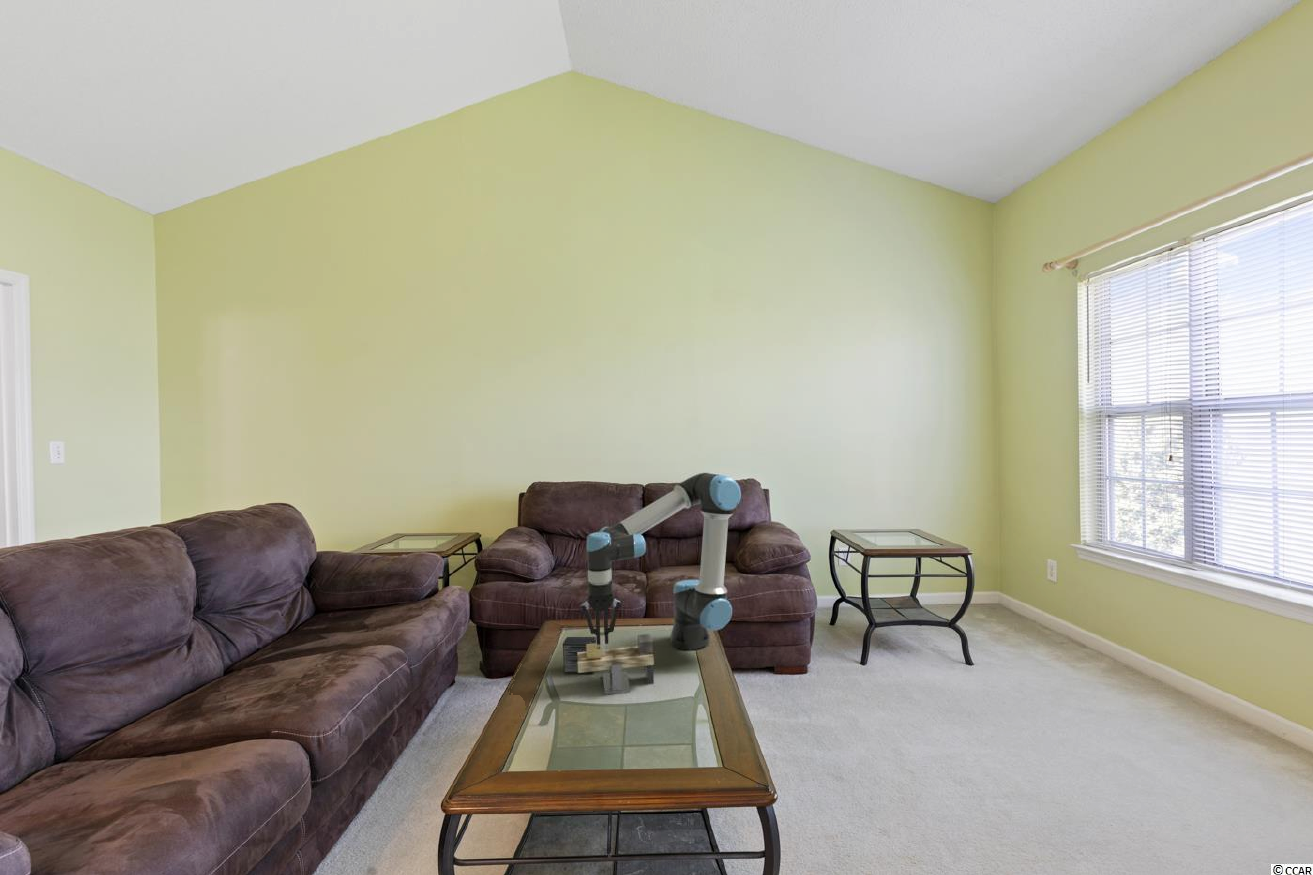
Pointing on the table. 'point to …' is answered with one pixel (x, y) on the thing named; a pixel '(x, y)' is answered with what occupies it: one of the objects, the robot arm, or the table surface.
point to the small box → (575, 653)
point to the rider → (593, 652)
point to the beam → (620, 656)
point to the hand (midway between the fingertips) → (602, 653)
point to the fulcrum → (622, 679)
